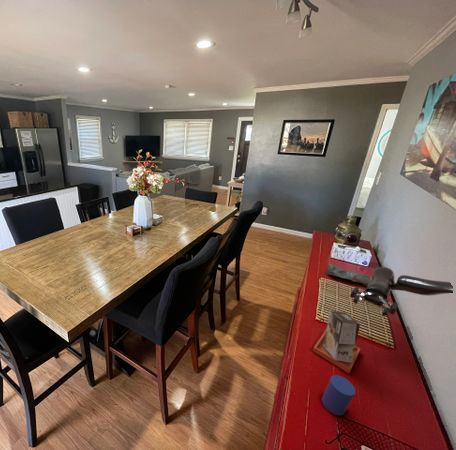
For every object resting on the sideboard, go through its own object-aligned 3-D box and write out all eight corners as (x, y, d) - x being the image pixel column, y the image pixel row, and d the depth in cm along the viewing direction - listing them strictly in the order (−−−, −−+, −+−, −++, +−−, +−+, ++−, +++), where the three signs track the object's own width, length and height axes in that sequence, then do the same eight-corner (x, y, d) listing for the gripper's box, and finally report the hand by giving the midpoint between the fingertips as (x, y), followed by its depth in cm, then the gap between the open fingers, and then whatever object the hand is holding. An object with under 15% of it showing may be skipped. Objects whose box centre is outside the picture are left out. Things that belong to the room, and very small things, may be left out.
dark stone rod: (323, 276, 149) (375, 293, 133) (326, 266, 147) (380, 282, 131) (326, 269, 159) (376, 285, 143) (329, 259, 156) (380, 274, 140)
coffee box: (353, 363, 91) (361, 324, 88) (335, 360, 92) (343, 322, 89) (338, 347, 100) (345, 312, 97) (322, 345, 101) (328, 310, 98)
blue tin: (347, 406, 79) (357, 386, 75) (341, 420, 75) (352, 400, 71) (325, 391, 84) (334, 371, 80) (318, 403, 80) (327, 383, 76)
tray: (358, 352, 99) (360, 348, 98) (349, 373, 90) (350, 369, 89) (324, 333, 107) (325, 329, 107) (312, 350, 99) (313, 347, 98)
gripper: (395, 307, 101) (389, 325, 91) (354, 290, 111) (344, 305, 101) (403, 292, 98) (397, 310, 88) (360, 277, 108) (350, 291, 98)
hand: (369, 307), depth 94 cm, fingers open, 8 cm apart
